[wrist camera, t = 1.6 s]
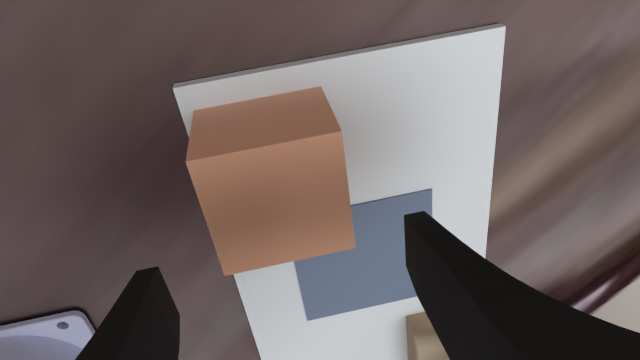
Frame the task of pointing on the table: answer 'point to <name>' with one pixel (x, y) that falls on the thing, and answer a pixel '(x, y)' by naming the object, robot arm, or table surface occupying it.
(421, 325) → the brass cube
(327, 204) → the terracotta block
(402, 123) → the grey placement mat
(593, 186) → the table surface
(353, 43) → the table surface
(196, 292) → the table surface
